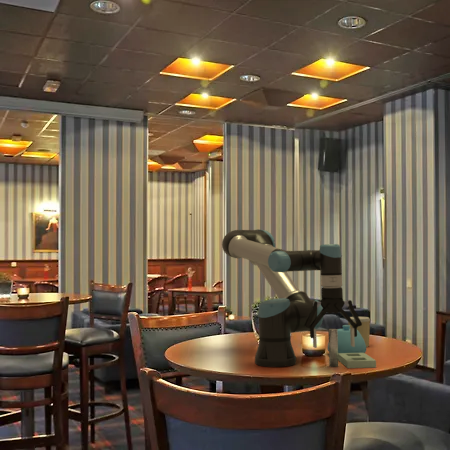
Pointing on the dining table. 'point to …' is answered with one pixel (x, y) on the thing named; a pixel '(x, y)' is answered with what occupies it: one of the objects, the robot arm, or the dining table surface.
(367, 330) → the coffee cup
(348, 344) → the sugar bowl
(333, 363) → the grey stone block
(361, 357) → the hole board
